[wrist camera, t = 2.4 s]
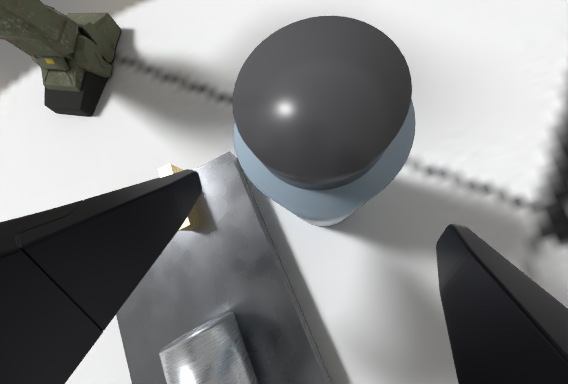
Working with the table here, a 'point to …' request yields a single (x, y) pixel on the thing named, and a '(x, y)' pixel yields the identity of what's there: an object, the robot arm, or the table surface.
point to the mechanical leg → (63, 51)
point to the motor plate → (218, 298)
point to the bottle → (323, 116)
